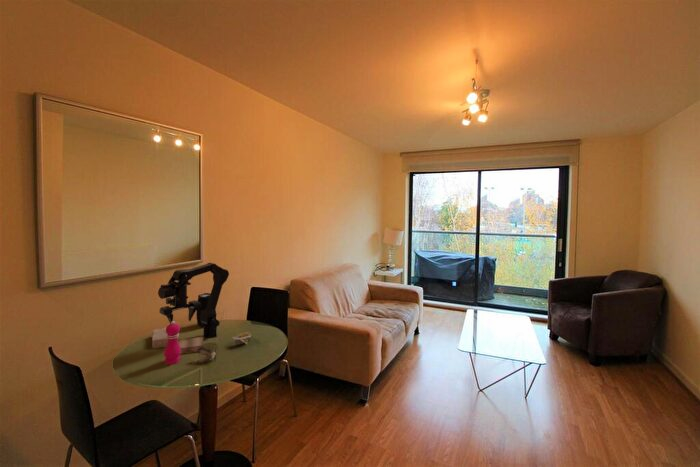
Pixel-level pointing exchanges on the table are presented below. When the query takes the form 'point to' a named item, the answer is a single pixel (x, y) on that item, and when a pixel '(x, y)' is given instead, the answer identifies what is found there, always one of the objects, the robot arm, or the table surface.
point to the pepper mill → (172, 344)
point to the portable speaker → (202, 306)
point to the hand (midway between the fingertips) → (180, 323)
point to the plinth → (190, 344)
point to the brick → (159, 338)
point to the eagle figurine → (206, 352)
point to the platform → (242, 338)
